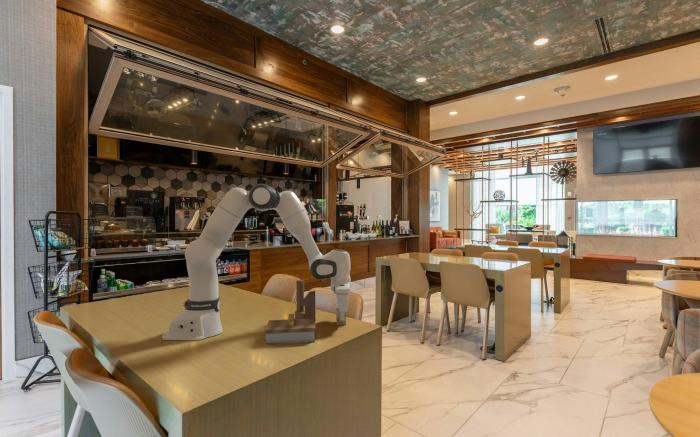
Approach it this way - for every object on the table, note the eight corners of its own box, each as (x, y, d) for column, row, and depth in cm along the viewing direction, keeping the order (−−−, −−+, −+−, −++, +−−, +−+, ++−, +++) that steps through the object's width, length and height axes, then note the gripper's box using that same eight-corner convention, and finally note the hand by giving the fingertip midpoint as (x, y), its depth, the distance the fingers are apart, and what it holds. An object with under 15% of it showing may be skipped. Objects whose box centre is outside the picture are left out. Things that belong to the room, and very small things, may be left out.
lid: (264, 333, 127) (264, 321, 127) (269, 323, 140) (268, 312, 140) (315, 331, 129) (315, 319, 129) (314, 321, 142) (314, 311, 142)
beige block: (337, 325, 149) (336, 310, 150) (336, 322, 153) (336, 308, 154) (346, 325, 150) (346, 310, 150) (345, 322, 154) (345, 308, 154)
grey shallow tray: (265, 344, 127) (265, 333, 127) (269, 333, 139) (269, 323, 139) (314, 341, 129) (314, 331, 130) (314, 331, 141) (314, 322, 141)
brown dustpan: (309, 323, 153) (309, 283, 153) (294, 319, 160) (294, 280, 160) (316, 321, 156) (315, 282, 156) (300, 317, 163) (300, 279, 163)
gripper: (332, 281, 162) (332, 311, 162) (335, 290, 141) (335, 324, 141) (345, 281, 162) (345, 310, 162) (350, 290, 142) (350, 323, 142)
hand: (341, 316), depth 152 cm, fingers open, 8 cm apart
